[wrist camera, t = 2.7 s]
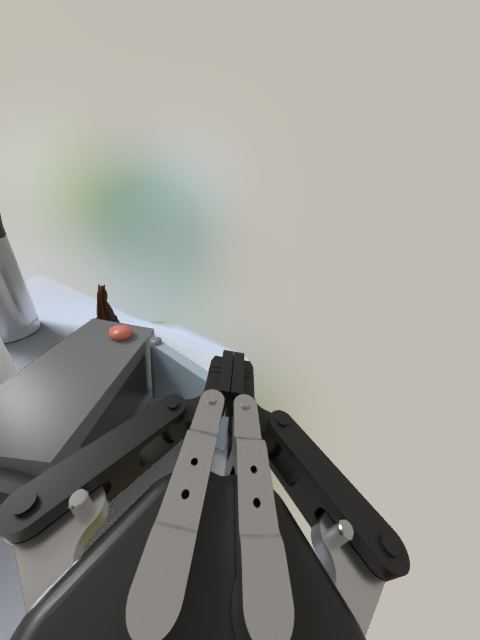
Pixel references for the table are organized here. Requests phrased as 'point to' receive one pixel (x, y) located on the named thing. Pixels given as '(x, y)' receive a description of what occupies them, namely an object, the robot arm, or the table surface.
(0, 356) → the can
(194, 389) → the side door
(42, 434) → the grey box
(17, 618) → the table surface
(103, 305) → the chess piece
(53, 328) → the table surface
